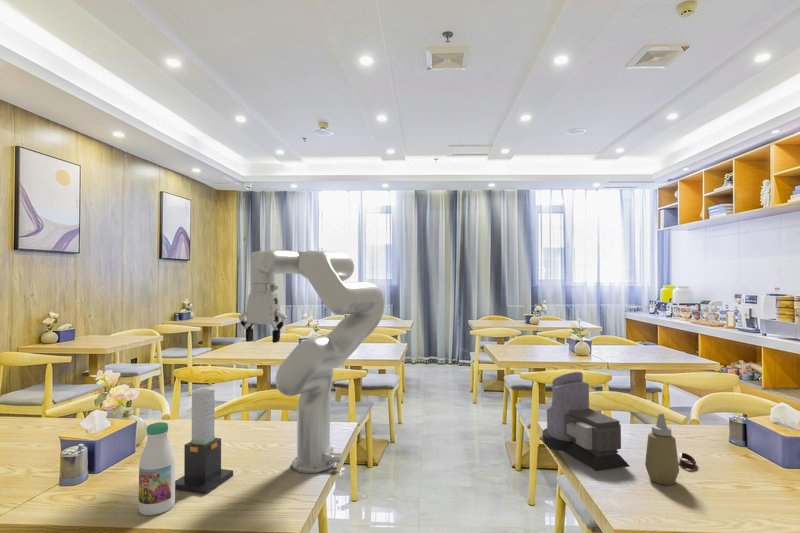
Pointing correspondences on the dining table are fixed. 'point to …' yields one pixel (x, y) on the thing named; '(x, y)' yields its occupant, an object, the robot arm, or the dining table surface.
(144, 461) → the milk bottle
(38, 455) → the dining table surface
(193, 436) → the stand column
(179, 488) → the stand base
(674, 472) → the squeeze bottle
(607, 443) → the grey blocky piece
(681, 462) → the watch
